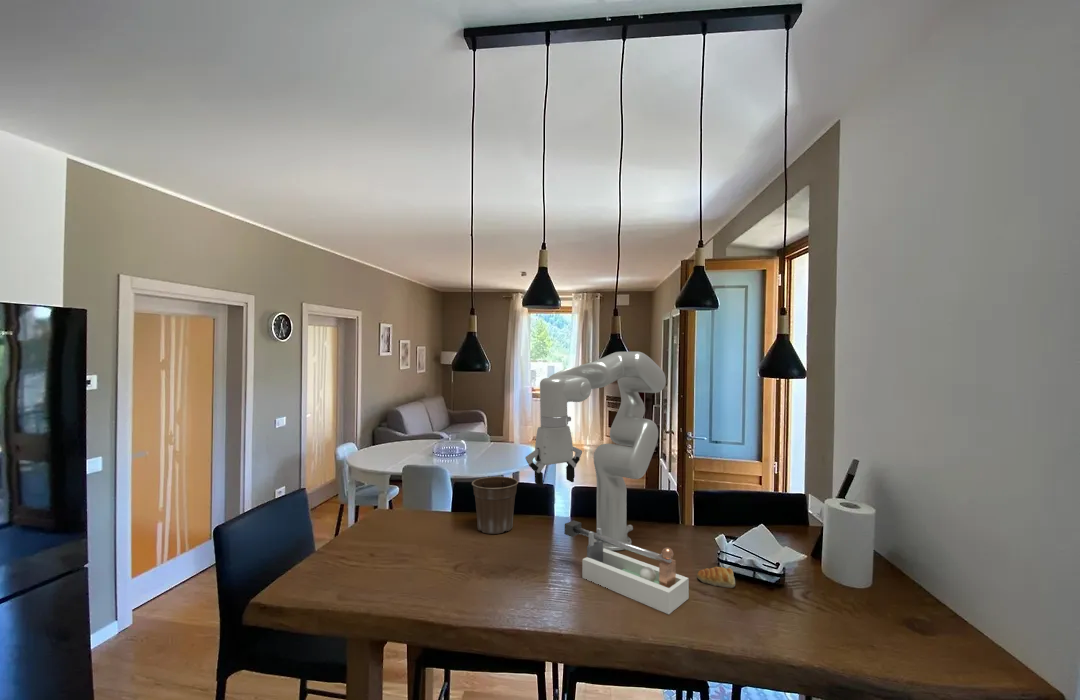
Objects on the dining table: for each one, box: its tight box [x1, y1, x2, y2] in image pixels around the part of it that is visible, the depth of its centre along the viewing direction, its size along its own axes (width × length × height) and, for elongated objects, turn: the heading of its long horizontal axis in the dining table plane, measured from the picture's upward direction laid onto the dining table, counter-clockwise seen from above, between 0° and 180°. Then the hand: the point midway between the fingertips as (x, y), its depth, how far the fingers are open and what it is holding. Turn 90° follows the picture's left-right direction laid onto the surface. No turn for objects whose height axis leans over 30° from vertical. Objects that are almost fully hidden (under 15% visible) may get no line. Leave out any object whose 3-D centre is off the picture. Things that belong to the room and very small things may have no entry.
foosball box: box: [581, 527, 690, 615], centre depth 119 cm, size 10×26×12 cm, turn 46°
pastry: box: [696, 566, 736, 589], centre depth 122 cm, size 9×7×4 cm
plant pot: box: [471, 476, 519, 535], centre depth 160 cm, size 16×16×16 cm
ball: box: [640, 567, 656, 582], centre depth 116 cm, size 4×4×4 cm
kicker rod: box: [564, 520, 677, 588], centre depth 122 cm, size 4×33×10 cm, turn 46°
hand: (555, 483), depth 128 cm, fingers open, 9 cm apart
